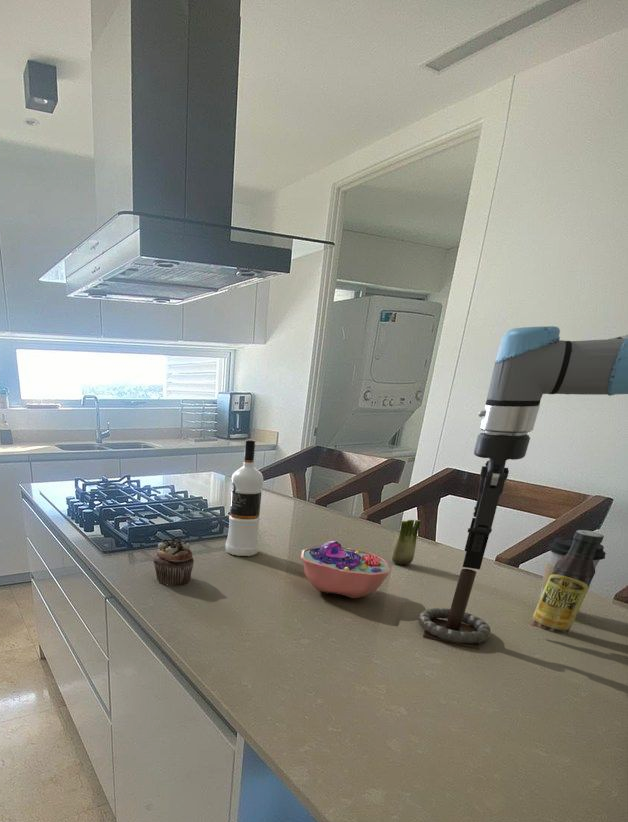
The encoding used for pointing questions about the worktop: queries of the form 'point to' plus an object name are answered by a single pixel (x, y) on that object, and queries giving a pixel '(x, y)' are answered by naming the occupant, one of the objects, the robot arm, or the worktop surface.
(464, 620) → the ring
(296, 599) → the worktop surface
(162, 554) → the cupcake
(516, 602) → the worktop surface
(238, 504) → the vodka
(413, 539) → the fennel bulb
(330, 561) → the cell model
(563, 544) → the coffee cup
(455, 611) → the post stand
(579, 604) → the sauce bottle
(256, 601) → the worktop surface
